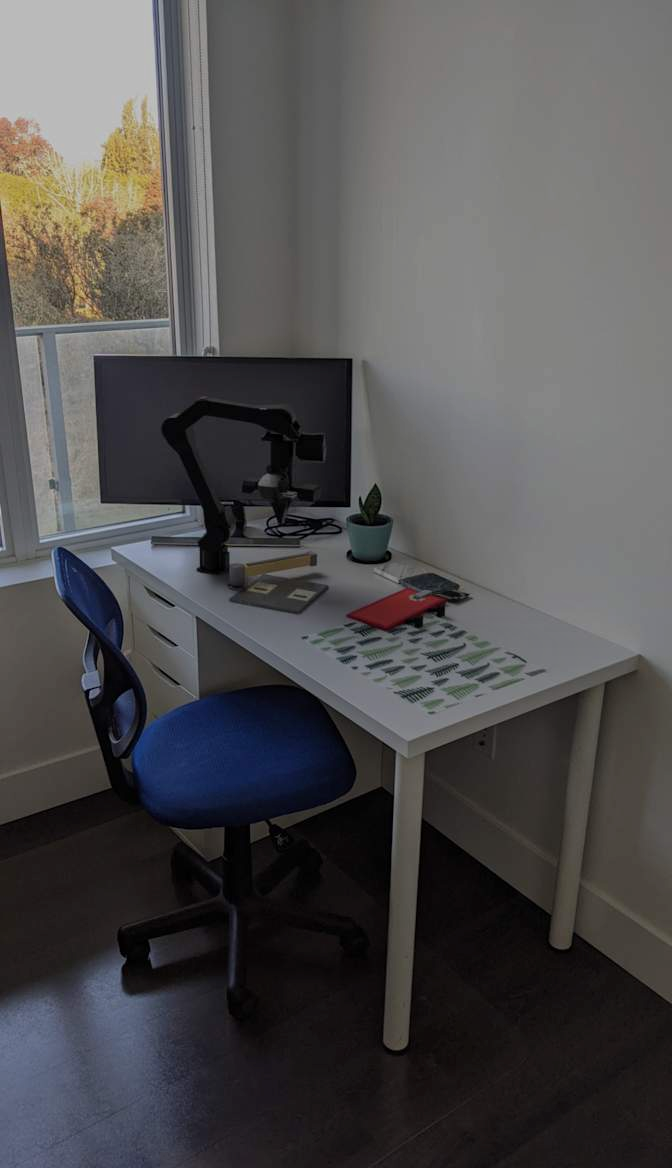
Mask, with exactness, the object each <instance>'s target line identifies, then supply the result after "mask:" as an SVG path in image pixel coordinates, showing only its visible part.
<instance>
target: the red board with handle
mask: <svg viewBox="0 0 672 1168" xmlns="http://www.w3.org/2000/svg"><path fill="white" fill-rule="evenodd" d="M452 589H453V588H452ZM470 595H471V593H467V592H463V591H460V590H457V589H453V590H451V591H446V592H443V593H439V594H434V595H432V591H431V590H428V589H423V590H421V591H419V590H416V589H413V588H409V587H405V588H403V589H400V590H398V591H396V592H394V593H392V594H390V595H388V596H384V597H382V598H381V599H378V600H375V601H374V602H372V603H370V604H367V605H365V606H363V607H359V608H357V609H356V610H353V611H352V612H351V611H350V612H349V613H347V614H346V615H345V618H348V619H351V620H354V621H356V622H360V623H362V624H364V625H366V626H370V627H373V628H375V629H378V630H380V631H384V632H386V633H387V632H389V631H391V630H393V629H396V628H398V627H400V626H402V625H404V624H414V625H413V628H414V629H420V628H422V627H424V615H425V614H427V613H436V617H437V618H439V619H441V618H442V617H445V616H446V604H447V601H449V602H450V601H451V602H454V603H457V602H458V601H460V600H462V599H465V598H467V597H468V596H470Z"/></svg>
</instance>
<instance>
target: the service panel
mask: <svg viewBox="0 0 672 1168" xmlns="http://www.w3.org/2000/svg"><path fill="white" fill-rule="evenodd" d="M226 586H227V587H226V588H227V589H229V590H232V591H238V592H237V593H235V594H234V595H232V596H231V597H230V598H229V602H231V601H233V603H237V602H241V603H240V604H242V603H246V604H245V605H248V604H251V605H250V606H253V605H255V606H254V607H258V606H260V607H259V608H264V607H265V608H264V609H269V608H270V610H275V611H281V612H286V613H291V614H298V615H299V614H300V613H301V612H302V611H304V609H306V608H307V607H308V606H309V605H311V603H312V602H313V601H315V600H316V599H317V598H318V597H320V595H321V594H322V593H323V592H325V591H326V590H327V589H328V588H329V584H325V583H324V584H323V583H319V582H313V581H306V580H301V579H295V578H289V577H284V576H277V575H272V574H268V573H266V574H261V575H259V576H258V577H256V579H253V581H252V582H250V583H249V584H247V583H246V582H245V584H244V585H242V586H233V585H230V582H229V583H227V584H226Z"/></svg>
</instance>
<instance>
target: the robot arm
mask: <svg viewBox="0 0 672 1168" xmlns="http://www.w3.org/2000/svg"><path fill="white" fill-rule="evenodd" d="M205 416H206V417H212V418H218V419H219V418H220V419H226V420H231V421H237V422H245V423H250V424H254V425H256V426H259V427H260V428H262V429H264V430H267V431H266V432H265V433H264V435H262V437H260V441H261V442H269V443H268V444H269V446H268V447H269V451H268V453H269V458H268V459H269V461H268V464H267V465H266V471H265V474H264V475H262V477H258V476H249V477H248V478H245V479H243V481H242V482H241V484H240V492H241V493H244V494H250V495H251V494H254V493H255V492H256V490H258V493H259V496H260V497H262V498H263V499H264V500H266V501H268V502H269V503H270V505H271V508H272V510H273V513H274V515H275V518H276V521H277V523H278V525H283V524H284V522H285V519H286V517H287V514H288V512H289V510H290V507H291V506H292V504H293V502H294V501H295V500H297V499H298V500H299V501H301V502H309V503H312V502H315V501H317V500H318V499H320V498H321V497H322V491H323V490H322V488H321V486H320V485H318V484H311V483H305V484H303V485H301V486H294V485H295V484H296V479H294V469H295V468H296V463H297V462H294V461H295V460H294V459H295V457H296V458H297V459H299V461H300V462H305V463H319V464H321V463H323V464H325V462H326V457H327V445H326V444H327V443H326V433H325V432H315V433H314V432H305V430H304V428H303V427H302V426H301V424H300V423H299V421H298V419H297V415H296V412H295V410H294V408H293V407H292V406H291V405H290V404H289V405H288V404H285V403H284V404H264V405H262V404H261V405H256V404H250V403H243V402H237V401H231V400H226V399H225V400H224V399H219V398H213V397H210V396H208V395H205V396H204V395H203V396H201V397H199V398H198V399H196V400H195V401H194V403H193V404H191V405H190V406H189V407H188V408H186V409H185V410H183V412H176V413H174V414H171V416H169V417H167V418H166V419H165V420H164V421H162V423H161V427H160V432H161V435H162V437H163V438H164V440H165V441H166V443H167V444H168V446H169V448H171V450H173V452H175V453H176V454H177V455H178V457H179V459H180V461H181V463H182V466H183V468H184V471H185V472H186V475H187V478H188V480H189V482H190V484H191V486H192V488H193V491H194V493H195V495H196V498H197V500H198V502H199V505H200V507H201V509H202V513H203V514H202V515H203V525H204V529H205V532H204V534H203V535H202V536H201V538H200V539H198V541H197V545H198V548H199V550H198V551H199V566H198V567H196V571H197V572H203V573H207V574H208V573H209V574H215V575H221V574H222V573H224V572H226V571H227V570H228V569H229V570H230V565H231V563H230V559H231V558H230V557H231V556H230V551H229V547H228V544H225V543H226V542H227V541H228V540H229V539H230V538H231V536H232V535H233V534H234V533H235V531H236V528H237V525H236V524H237V523H236V521H237V520H238V519H237V518H236V517H235V514H234V513H233V510H232V506H231V505H228V506H226V507H225V506H224V505H223V504H222V503H221V501H220V499H219V496H218V495H217V493H216V490H215V487H214V485H213V484H212V481H211V478H210V476H209V474H208V472H207V470H206V467H205V465H204V463H203V460H202V458H201V456H200V453H199V451H198V449H197V444H196V441H197V439H196V434H195V430H194V425H195V424H196V423H197V422H199V421H200V420H201V419H202V418H203V417H205Z"/></svg>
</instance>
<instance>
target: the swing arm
mask: <svg viewBox="0 0 672 1168" xmlns="http://www.w3.org/2000/svg"><path fill="white" fill-rule="evenodd" d="M317 564H318V554H317V553H316V552H314V551H312V550H311V551H306V552H303V553H298V554H292V555H288V556H287V555H286V556H281V557H275V558H270V559H264V560H259V561H252V562H246V563H245V564H244V563H241V562H240V563H239V562H236V563H235V562H234V563H230V568H229V583H230V585H233V586H242V585H244V584H245V583H246V578H250V577H254V576H261V575H262V574H270V573H271V574H272V573H276V572H281V571H286V570H291V569H297V568H298V569H299V568H303V567H308V566H309V567H316V566H318V565H317Z"/></svg>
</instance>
